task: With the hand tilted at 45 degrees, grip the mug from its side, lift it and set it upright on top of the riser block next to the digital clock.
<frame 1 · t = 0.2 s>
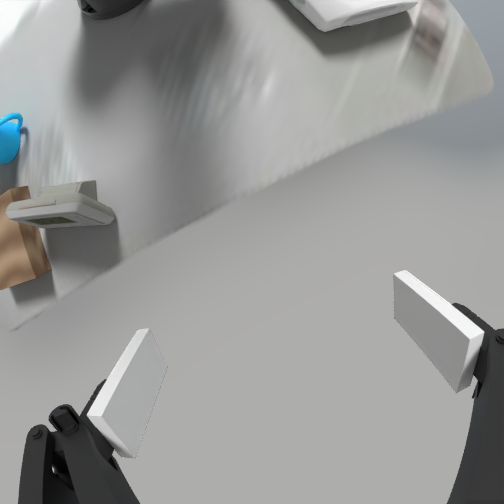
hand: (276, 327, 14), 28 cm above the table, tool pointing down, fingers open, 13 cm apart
riser block: (17, 237, 41), on the table
digital clock: (76, 208, 40), on the table
mug: (14, 136, 36), on the table
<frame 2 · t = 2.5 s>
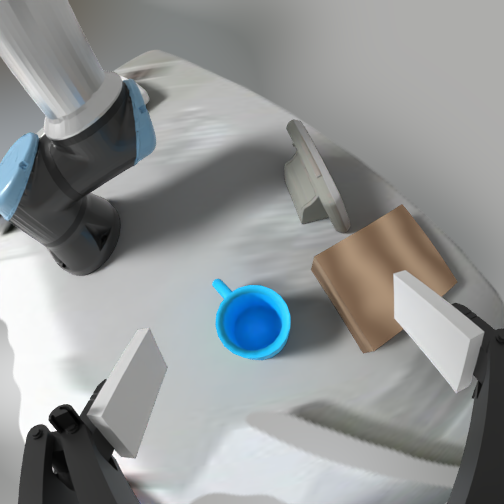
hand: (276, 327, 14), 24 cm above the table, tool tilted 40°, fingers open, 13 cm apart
riser block: (381, 281, 38), on the table
digital clock: (316, 196, 45), on the table
mug: (249, 320, 39), on the table
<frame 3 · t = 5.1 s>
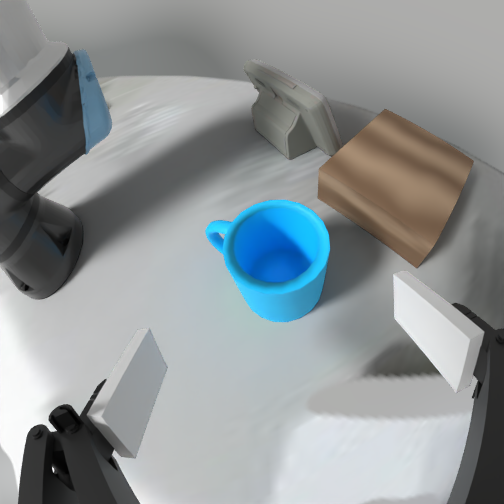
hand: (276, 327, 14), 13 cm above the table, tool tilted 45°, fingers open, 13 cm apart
riser block: (398, 190, 32), on the table
digital clock: (294, 134, 39), on the table
mug: (266, 275, 29), on the table
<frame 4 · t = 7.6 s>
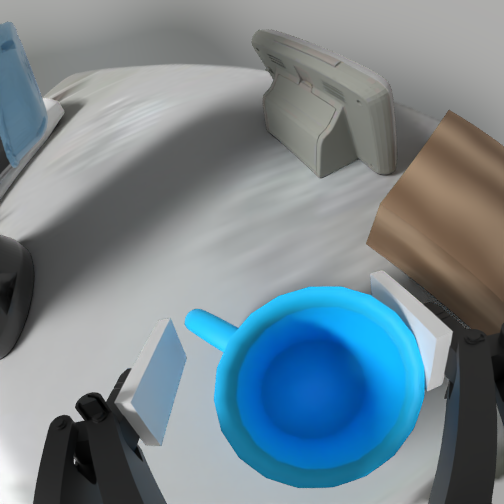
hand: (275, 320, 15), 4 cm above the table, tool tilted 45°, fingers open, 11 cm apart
riser block: (470, 229, 19), on the table
digital clock: (324, 138, 27), on the table
mug: (287, 376, 17), on the table, touching gripper
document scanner: (9, 165, 41), on the table
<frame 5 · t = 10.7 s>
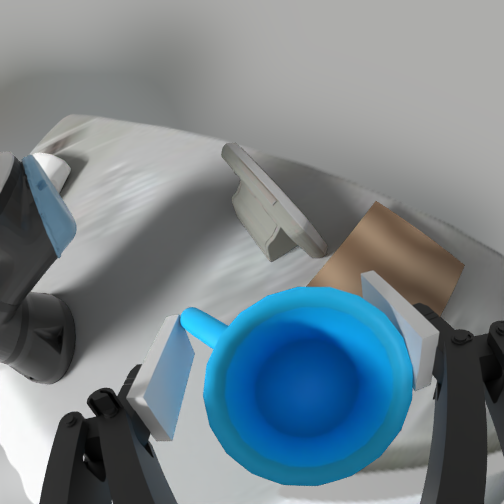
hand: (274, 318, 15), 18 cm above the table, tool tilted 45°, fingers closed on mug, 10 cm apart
riser block: (379, 296, 32), on the table
digital clock: (278, 224, 39), on the table
mug: (281, 375, 17), point 14 cm above the table, touching gripper
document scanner: (25, 213, 52), on the table
when the fingers open (10 cm above the table, at t = 13.8 s): mug drops 1 cm, resting on riser block.
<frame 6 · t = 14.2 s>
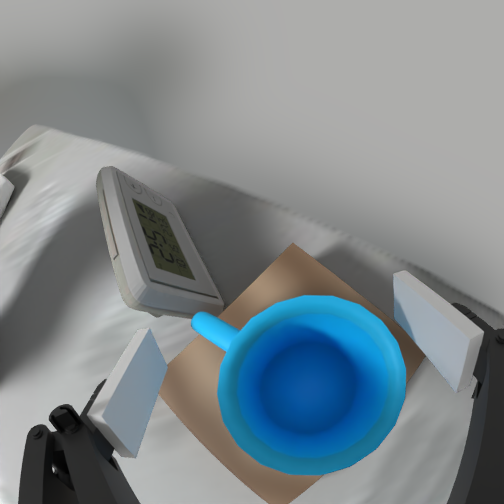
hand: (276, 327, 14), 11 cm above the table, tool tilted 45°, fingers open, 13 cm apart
riser block: (291, 380, 23), on the table
digital clock: (176, 266, 30), on the table
mug: (284, 375, 19), point 5 cm above the table, touching riser block
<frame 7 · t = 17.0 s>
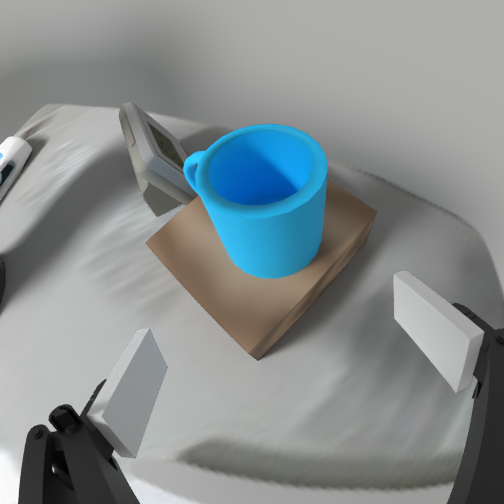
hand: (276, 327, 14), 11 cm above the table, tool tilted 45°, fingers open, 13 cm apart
riser block: (264, 253, 29), on the table
digital clock: (176, 181, 36), on the table
mug: (253, 225, 25), point 5 cm above the table, touching riser block
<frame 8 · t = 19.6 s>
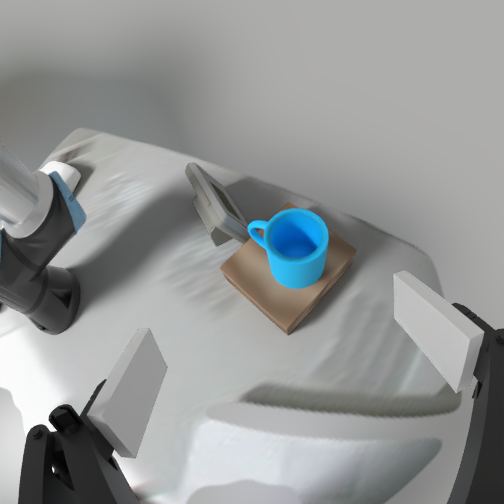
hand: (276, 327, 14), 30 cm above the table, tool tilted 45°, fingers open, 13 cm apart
riser block: (289, 272, 47), on the table
digital clock: (226, 220, 55), on the table
mug: (286, 258, 43), point 5 cm above the table, touching riser block
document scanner: (43, 210, 69), on the table
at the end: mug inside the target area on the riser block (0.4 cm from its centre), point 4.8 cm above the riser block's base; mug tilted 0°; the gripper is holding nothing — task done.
